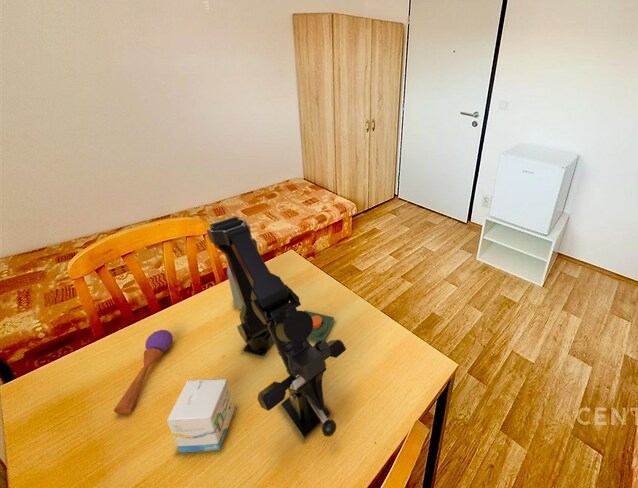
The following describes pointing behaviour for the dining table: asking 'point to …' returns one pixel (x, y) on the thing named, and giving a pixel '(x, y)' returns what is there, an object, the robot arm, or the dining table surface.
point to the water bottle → (232, 284)
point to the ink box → (201, 415)
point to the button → (317, 322)
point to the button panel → (324, 329)
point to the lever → (324, 421)
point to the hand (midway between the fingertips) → (321, 408)
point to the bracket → (302, 414)
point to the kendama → (145, 368)
